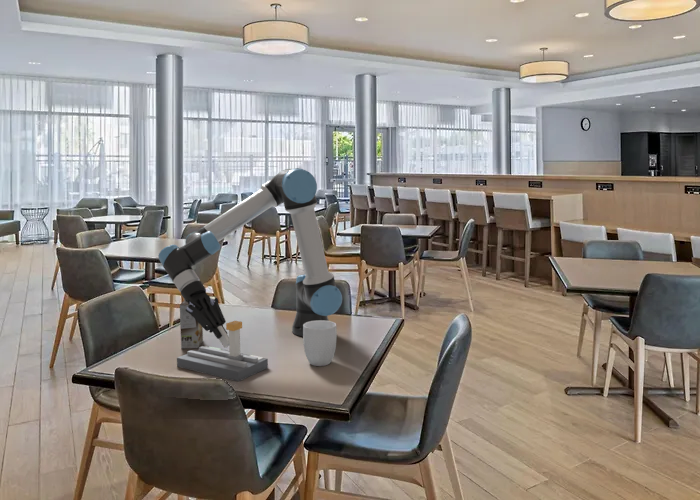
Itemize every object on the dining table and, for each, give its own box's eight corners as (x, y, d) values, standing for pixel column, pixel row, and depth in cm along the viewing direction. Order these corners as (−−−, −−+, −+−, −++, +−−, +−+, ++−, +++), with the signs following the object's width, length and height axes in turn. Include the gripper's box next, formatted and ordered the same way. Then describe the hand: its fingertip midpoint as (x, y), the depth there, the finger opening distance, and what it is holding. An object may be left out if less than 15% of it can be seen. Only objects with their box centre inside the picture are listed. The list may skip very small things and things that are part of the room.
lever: (244, 359, 180) (243, 322, 178) (235, 362, 176) (234, 325, 175) (234, 357, 182) (233, 320, 180) (226, 360, 178) (225, 323, 177)
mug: (300, 355, 195) (300, 318, 193) (332, 353, 197) (332, 316, 195) (305, 369, 180) (304, 329, 178) (339, 367, 182) (339, 328, 180)
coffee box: (199, 348, 202) (197, 304, 200) (180, 348, 202) (179, 304, 199) (203, 340, 211) (201, 298, 209) (185, 341, 211) (184, 299, 209)
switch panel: (267, 367, 182) (267, 355, 181) (238, 381, 170) (238, 367, 169) (208, 354, 195) (207, 342, 194) (177, 366, 183) (176, 354, 182)
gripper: (199, 290, 193) (235, 346, 187) (169, 296, 181) (207, 356, 175) (210, 276, 189) (248, 333, 183) (180, 282, 178) (220, 343, 172)
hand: (228, 344), depth 179 cm, fingers closed
